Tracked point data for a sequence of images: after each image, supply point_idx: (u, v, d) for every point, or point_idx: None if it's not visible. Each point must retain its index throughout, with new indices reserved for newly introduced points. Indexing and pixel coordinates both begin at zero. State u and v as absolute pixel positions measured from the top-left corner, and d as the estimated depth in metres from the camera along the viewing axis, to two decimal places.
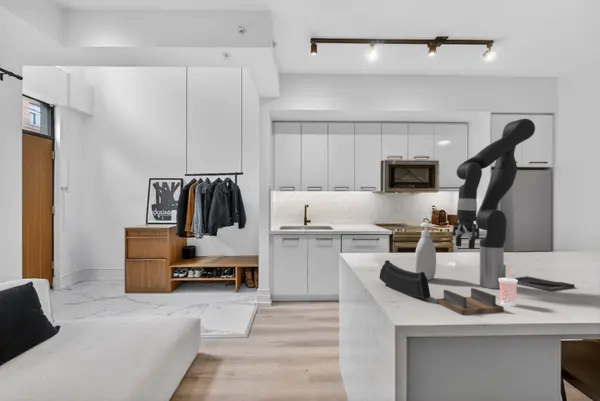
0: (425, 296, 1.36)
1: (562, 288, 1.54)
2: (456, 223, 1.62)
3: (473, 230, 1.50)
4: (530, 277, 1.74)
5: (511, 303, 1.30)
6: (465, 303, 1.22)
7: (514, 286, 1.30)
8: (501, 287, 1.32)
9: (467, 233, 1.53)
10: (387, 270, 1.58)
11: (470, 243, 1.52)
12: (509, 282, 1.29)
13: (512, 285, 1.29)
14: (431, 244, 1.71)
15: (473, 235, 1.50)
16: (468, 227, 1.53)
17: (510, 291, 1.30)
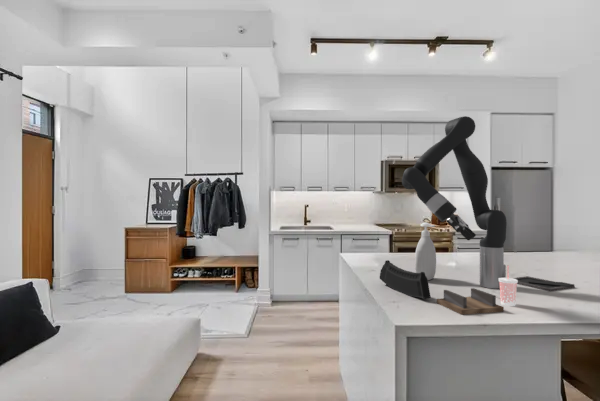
0: (425, 296, 1.36)
1: (562, 288, 1.54)
2: None
3: (451, 225, 1.36)
4: (530, 277, 1.74)
5: (511, 303, 1.30)
6: (465, 303, 1.22)
7: (514, 286, 1.30)
8: (501, 287, 1.32)
9: None
10: (387, 270, 1.58)
11: (464, 236, 1.36)
12: (509, 282, 1.29)
13: (512, 285, 1.29)
14: (431, 244, 1.71)
15: (455, 229, 1.35)
16: None
17: (510, 291, 1.30)
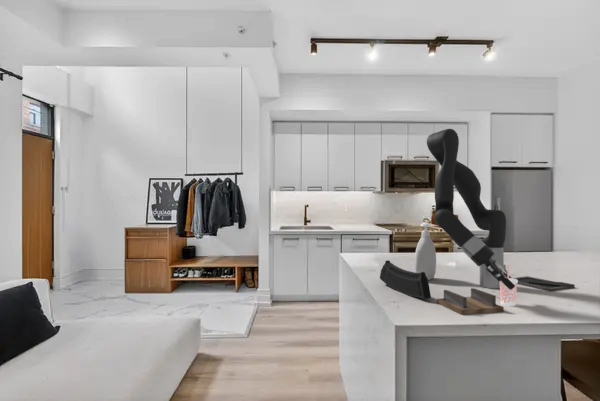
0: (425, 296, 1.36)
1: (562, 288, 1.54)
2: None
3: (492, 274, 1.29)
4: (530, 277, 1.73)
5: (511, 303, 1.30)
6: (465, 303, 1.22)
7: None
8: (501, 287, 1.32)
9: None
10: (387, 270, 1.58)
11: (505, 284, 1.29)
12: None
13: None
14: (431, 244, 1.71)
15: (496, 278, 1.29)
16: None
17: (510, 291, 1.29)
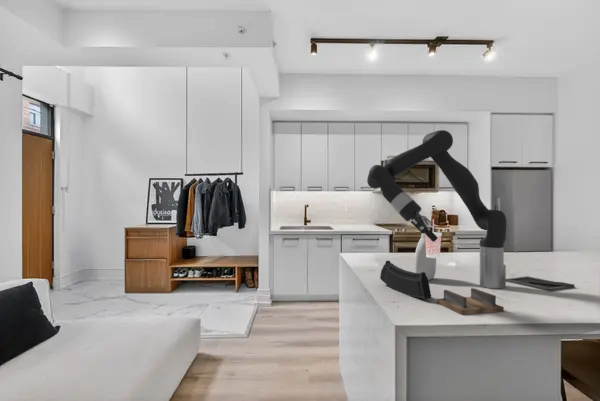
0: (426, 296, 1.35)
1: (562, 288, 1.54)
2: None
3: (416, 226, 1.33)
4: (530, 277, 1.73)
5: (435, 255, 1.33)
6: (465, 303, 1.22)
7: (438, 238, 1.33)
8: (426, 240, 1.35)
9: None
10: (388, 270, 1.58)
11: (429, 237, 1.32)
12: None
13: None
14: None
15: (420, 231, 1.32)
16: None
17: (434, 243, 1.33)
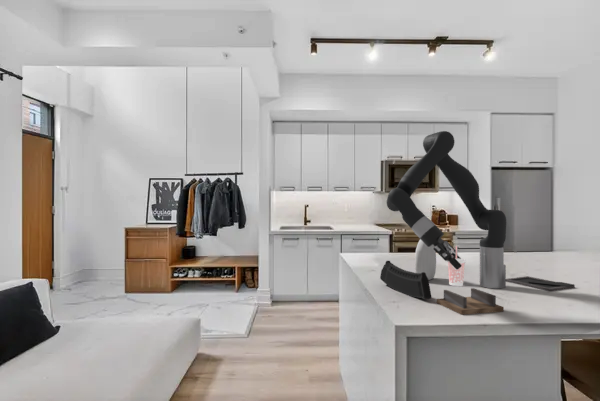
0: (426, 296, 1.35)
1: (562, 288, 1.54)
2: None
3: (439, 254, 1.28)
4: (530, 277, 1.73)
5: (458, 283, 1.29)
6: (465, 303, 1.22)
7: (461, 266, 1.28)
8: (449, 267, 1.31)
9: None
10: (388, 270, 1.57)
11: (452, 264, 1.28)
12: None
13: None
14: None
15: None
16: None
17: (458, 271, 1.28)
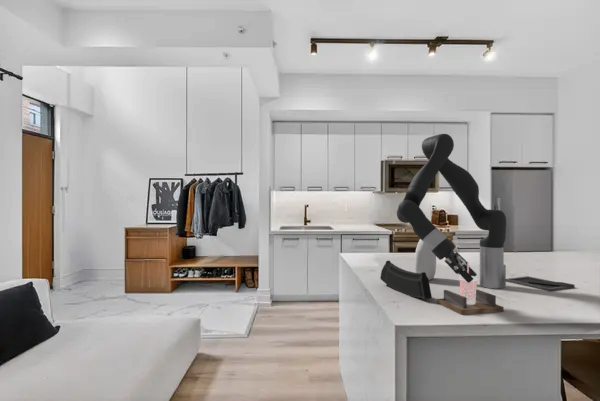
0: (426, 296, 1.35)
1: (562, 288, 1.54)
2: None
3: (450, 266, 1.26)
4: (530, 277, 1.73)
5: (471, 301, 1.26)
6: (465, 303, 1.22)
7: (474, 284, 1.26)
8: (461, 285, 1.28)
9: None
10: (388, 270, 1.57)
11: (464, 277, 1.25)
12: None
13: (471, 283, 1.26)
14: None
15: None
16: None
17: (470, 289, 1.26)
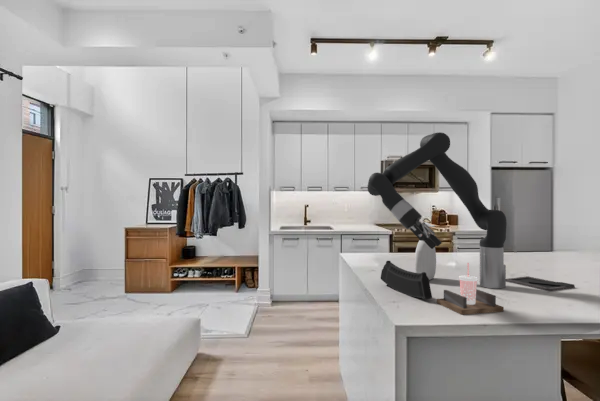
0: (427, 297, 1.35)
1: (562, 288, 1.54)
2: None
3: (414, 233, 1.32)
4: (530, 277, 1.73)
5: (471, 301, 1.26)
6: (465, 303, 1.22)
7: (474, 284, 1.26)
8: (461, 285, 1.28)
9: None
10: (388, 270, 1.57)
11: (427, 244, 1.32)
12: (468, 280, 1.26)
13: (471, 283, 1.26)
14: None
15: None
16: None
17: (470, 289, 1.26)
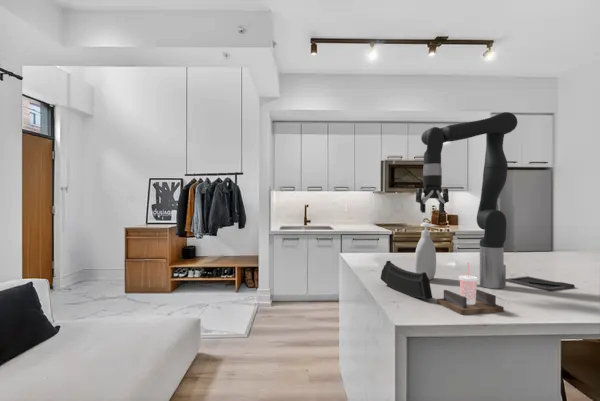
0: (427, 297, 1.35)
1: (562, 288, 1.54)
2: None
3: None
4: (530, 277, 1.73)
5: (471, 301, 1.26)
6: (465, 303, 1.22)
7: (474, 284, 1.26)
8: (461, 285, 1.28)
9: None
10: (388, 270, 1.57)
11: None
12: (468, 280, 1.26)
13: (471, 283, 1.26)
14: (431, 244, 1.71)
15: None
16: None
17: (470, 289, 1.26)
